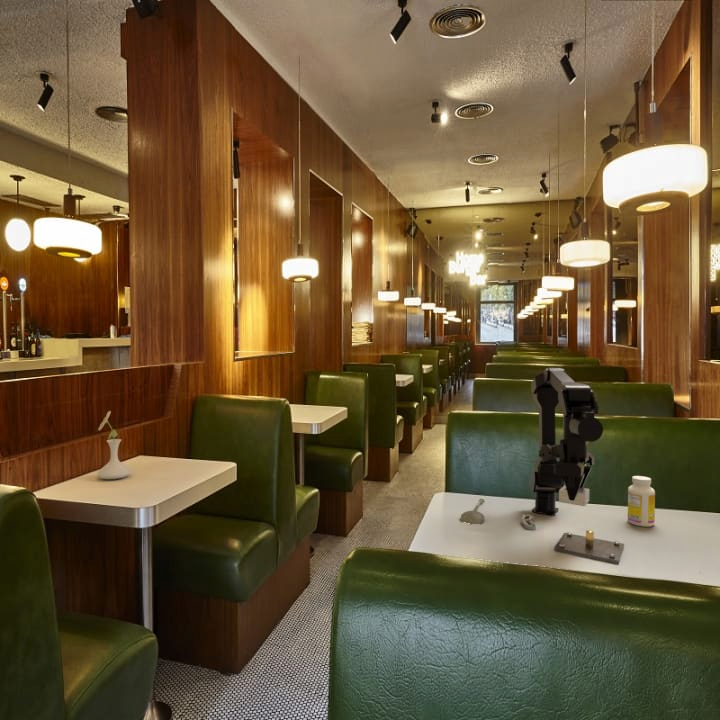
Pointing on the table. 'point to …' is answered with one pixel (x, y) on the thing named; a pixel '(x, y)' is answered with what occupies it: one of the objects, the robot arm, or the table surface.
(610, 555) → the keeper plate
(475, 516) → the soupspoon
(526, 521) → the chain tail
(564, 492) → the end link
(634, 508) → the supplement bottle
